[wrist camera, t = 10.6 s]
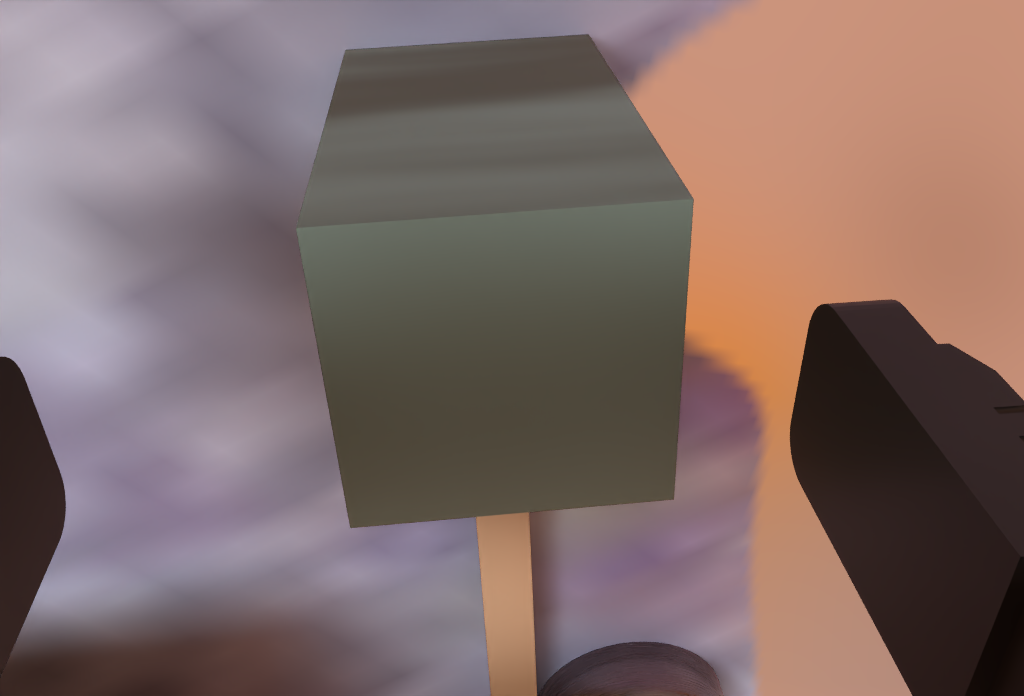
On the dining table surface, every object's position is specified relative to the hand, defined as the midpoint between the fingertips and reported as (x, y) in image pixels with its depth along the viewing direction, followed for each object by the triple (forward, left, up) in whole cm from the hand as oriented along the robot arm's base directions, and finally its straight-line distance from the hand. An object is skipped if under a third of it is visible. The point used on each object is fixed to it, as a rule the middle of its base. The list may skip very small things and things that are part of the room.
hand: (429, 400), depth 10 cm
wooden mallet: (+9, +1, -8) cm, 12 cm away
